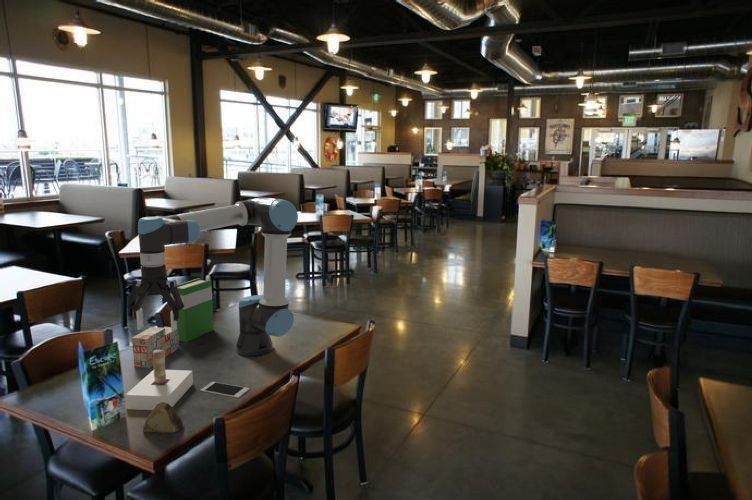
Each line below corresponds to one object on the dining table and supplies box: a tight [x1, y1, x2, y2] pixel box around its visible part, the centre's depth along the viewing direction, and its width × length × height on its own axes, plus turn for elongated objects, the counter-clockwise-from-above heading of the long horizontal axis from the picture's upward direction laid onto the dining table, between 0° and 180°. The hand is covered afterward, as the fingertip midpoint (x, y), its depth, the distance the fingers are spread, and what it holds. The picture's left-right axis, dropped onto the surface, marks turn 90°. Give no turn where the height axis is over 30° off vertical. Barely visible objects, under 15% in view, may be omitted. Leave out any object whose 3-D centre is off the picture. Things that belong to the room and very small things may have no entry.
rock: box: [142, 402, 185, 433], centre depth 158 cm, size 11×9×10 cm
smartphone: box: [200, 381, 250, 399], centre depth 185 cm, size 7×16×1 cm, turn 72°
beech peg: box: [153, 350, 166, 385], centre depth 178 cm, size 4×4×16 cm
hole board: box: [125, 369, 194, 411], centre depth 179 cm, size 14×20×5 cm
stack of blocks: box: [131, 326, 180, 369], centre depth 211 cm, size 21×6×12 cm, turn 169°
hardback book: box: [169, 277, 214, 343], centre depth 236 cm, size 18×7×24 cm, turn 156°
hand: (157, 329), depth 175 cm, fingers open, 11 cm apart
